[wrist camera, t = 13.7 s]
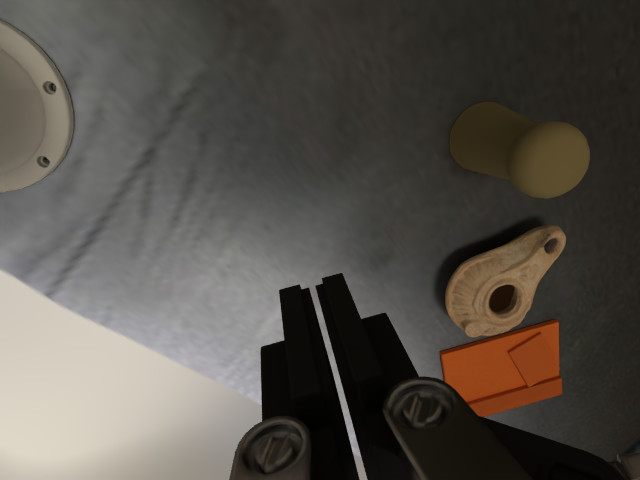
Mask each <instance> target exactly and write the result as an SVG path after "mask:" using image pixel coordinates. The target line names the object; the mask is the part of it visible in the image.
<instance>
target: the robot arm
mask: <svg viewBox="0 0 640 480" xmlns="http://www.w3.org/2000/svg"><path fill="white" fill-rule="evenodd" d="M52 84H54V85H55V86H56V91H55V90H53V89H52V87H51V85H52ZM73 130H74V113H73V108H72V103H71V98H70V95H69V93H68V90H67V87H66V85H65V82H64V80H63V78H62V77H61V75H60V73H59V72H58V70H57V68H56V67H55V65H54V63H53V62H52V61H51V60H50V59H49V57H48V56H47V55H46V54H45V53H44V51H43V50H42V49H41V48H40V47H39V46H38V45H37V44H35V43H34V42H33V41H32V40H31V39H30V38H29V37H28V36H26V35H25V34H24V33H22V32H21V31H19V30H17V29H16V28H14V27H13V26H11V25H10V24H8V23H6V22H4V21H2V20H0V192H8V191H14V190H19V189H22V188H24V187H27V186H30V185H33V184H34V183H36V182H38V181H40V180H41V179H43V178H45V177H46V176H47V175H48V174H50V173H51V172H52V171H53V170H55V169H56V167H57V166H58V165H59V164H60V162H61V161H62V160H63V159H64V157H65V155H66V153H67V151H68V148H69V146H70V144H71V139H72V135H73ZM45 157H47V158H48V160H49V162H47V161H46V160H45ZM322 281H323V284H320V285H316V290H317V294H318V297H319V301H320V305H321V308H322V312H323V316H324V320H325V323H326V327H327V331H328V334H329V338H330V342H331V346H332V349H333V353H334V357H335V360H336V364H337V368H338V372H339V375H340V379H341V383H342V386H343V390H344V394H345V398H346V401H347V405H348V409H349V412H350V416H351V420H352V423H353V427H354V431H355V435H356V438H357V442H358V446H359V449H360V453H361V457H362V461H363V464H364V468H365V472H366V475H367V479H368V480H640V453H631V454H617V461H612V462H606V461H605V460H603V459H602V458H600V457H598V456H595V455H593V454H591V453H589V452H587V451H584V450H580V449H577V448H574V447H571V446H568V445H565V444H562V443H559V442H556V441H553V440H550V439H547V438H544V437H541V436H538V435H535V434H532V433H529V432H526V431H523V430H520V429H517V428H514V427H511V426H508V425H505V424H502V423H499V422H496V421H493V420H490V419H487V418H484V417H481V416H478V415H477V414H476V413H475V412H474V410H473V409H472V408H471V407H470V406H469V405H468V404H467V402H466V401H465V400H464V399H463V398H462V397H461V395H460V394H459V393H458V392H457V391H456V390H455V389H454V388H453V387H452V386H450V385H449V384H448V383H446V382H444V381H442V380H439V379H437V378H431V377H419V376H418V374H417V372H416V370H415V368H414V366H413V364H412V362H411V360H410V358H409V356H408V354H407V352H406V351H405V349H404V347H403V345H402V343H401V341H400V339H399V337H398V335H397V333H396V331H395V329H394V327H393V325H392V323H391V322H390V320H389V318H388V316H387V314H386V313H382V314H378V315H374V316H371V317H367V318H364V319H361V318H360V315H359V313H358V311H357V308H356V306H355V303H354V301H353V298H352V296H351V293H350V291H349V289H348V286H347V284H346V281H345V279H344V276H343V274H342V273H340V274H336V275H332V276H329V277H325V278H322ZM279 294H280V303H281V312H282V321H283V330H284V341H281V342H277V343H273V344H270V345H266V346H263V347H261V388H262V422H260V423H258V424H256V425H255V426H254V427H252V428H251V429H250V430H249V431H248V432H247V433H246V434H245V435H244V437H243V438H242V439H241V441H240V442H239V444H238V447H237V449H236V452H235V456H234V460H233V465H232V470H231V475H230V479H229V480H359V476H358V472H357V468H356V464H355V460H354V456H353V452H352V448H351V444H350V440H349V436H348V432H347V428H346V424H345V420H344V416H343V412H342V408H341V404H340V400H339V396H338V392H337V388H336V384H335V380H334V376H333V373H332V369H331V365H330V362H329V358H328V355H327V351H326V347H325V344H324V340H323V336H322V333H321V329H320V326H319V322H318V318H317V315H316V311H315V308H314V304H313V300H312V297H311V293H310V290H309V288H305V289H302V290H301V287H300V284H299V285H296V286H292V287H288V288H285V289H281V290H279Z"/></svg>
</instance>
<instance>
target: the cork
mask: <svg viewBox="0 0 640 480" xmlns="http://www.w3.org/2000/svg"><path fill="white" fill-rule="evenodd" d="M449 144H450V152H451V154H452V156H453V158H454V160H455V161H456V162H457V163H458V164H459V165H460V166H461V167H462V168H465V169H467V170H469V171H473V172H477V173H482V174H486V175H491V176H495V177H499V178H504V179H508V180H510V181H511V182H512V184H513V185H514V186H515V187H516V188H517V189H518V190H519V191H521V192H523V193H525V194H527V195H529V196H531V197H536V198H552V197H556V196H560V195H562V194H564V193H566V192H567V191H569V190H571V189H573V188H574V187H575V186H576V185H577V184H578V183H579V182H580V181H581V179H582V178H583V176H584V174H585V173H586V171H587V168H588V165H589V162H590V150H589V147H588V144H587V140H586V138H585V137H584V135H583V134H582V133H581V132H580V130H578V129H577V128H575V127H573V126H572V125H570V124H568V123H566V122H560V121H544V122H540V123H536V122H534V121H532V120H530V119H528V118H526V117H524V116H522V115H520V114H518V113H516V112H514V111H512V110H510V109H508V108H506V107H504V106H502V105H500V104H498V103H496V102H486V101H485V102H481V103H477V104H474V105H472V106H471V107H469V108H467V109H466V110H464V112H463V113H462V114H461V115H460V116H459V117H458V118H457V119H456V121H455V123H454V125H453V127H452V129H451V134H450V139H449Z"/></svg>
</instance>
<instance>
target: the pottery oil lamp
mask: <svg viewBox="0 0 640 480" xmlns="http://www.w3.org/2000/svg"><path fill="white" fill-rule="evenodd" d="M565 243H566V236H565V234H564V232H563V231H562V230H561V228H560V227H558V226H555V225H549V226H539V227H536V228H534V229H532V230H529V231H527V232H526V233H524V234H522V235H520V236H519V237H517V238H515V239H514V240H512V241H510V242H509V243H507V244H505V245H503V246H500V247H498V248H495V249H492V250H490V251H487V252H484V253H481V254H479V255H476V256H474V257H471V258H469V259H468V260H466V261H464V262H463V263H462V264H461V265H459V267H458V268H457V269H456V270H455V272H454V273H453V274H452V276H451V278H450V280H449V282H448V285H447V288H446V292H445V304H446V308H447V311H448V314H449V316H450V318H451V319H452V320H453V321H454V323H455V324H457V326H458V327H460V328H461V329H463V330H464V331H465V332H466V334H467V335H468V336H470V337H477V336H479V335H485V336H491V335H497V334H499V333H504V332H506V331H509V330H510V329H511V328H513V327H514V326H517V325H518V324H519V323H521V321H522V319H524V316H525V315H526V313H527V311H528V310H530V307H531V305H532V302H533V297H534V293H535V291H536V288H537V285H538V283H539V281H540V279H541V278H542V277H543V276H544V274H545V273H546V271H547V270H548V269H549V267H550V266H551V265H552V264H553V262H554V261H555V260H556V259H557V258H558V256H559V255H560V253H561V252H562V250H563V249H564V246H565Z"/></svg>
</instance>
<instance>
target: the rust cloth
mask: <svg viewBox="0 0 640 480" xmlns="http://www.w3.org/2000/svg"><path fill="white" fill-rule="evenodd" d="M440 357H441V364H442V370H443V377H444V382H446V383H448V384H449V385H450V386H452V387H453V388H454V389H455V390H456V391H457V392H458V393H459V394H460V395H461V397H462V398H463V399H464V400H465V401H466V402H467V404H468V405H469V406H470V407H471V408H472V409H473V410H474V412H475V413H476V414H477V415H478V416H481V417H485V416H488V415H492V414H495V413H499V412H502V411H506V410H509V409H512V408H516V407H519V406H523V405H526V404H530V403H533V402H537V401H540V400H544V399H547V398H551V397H554V396H557V395H561V394H562V378H561V377H560V376H559V370H560V367H559V322H558V321H557V320H556V319H554V320H550V321H547V322H543V323H540V324H536V325H533V326H529V327H525V328H522V329H518V330H515V331H511V332H508V333H504V334H501V335H497V336H494V337H490V338H487V339H483V340H479V341H476V342H472V343H469V344H465V345H462V346H458V347H455V348H451V349H448V350H444V351H440Z"/></svg>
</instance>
